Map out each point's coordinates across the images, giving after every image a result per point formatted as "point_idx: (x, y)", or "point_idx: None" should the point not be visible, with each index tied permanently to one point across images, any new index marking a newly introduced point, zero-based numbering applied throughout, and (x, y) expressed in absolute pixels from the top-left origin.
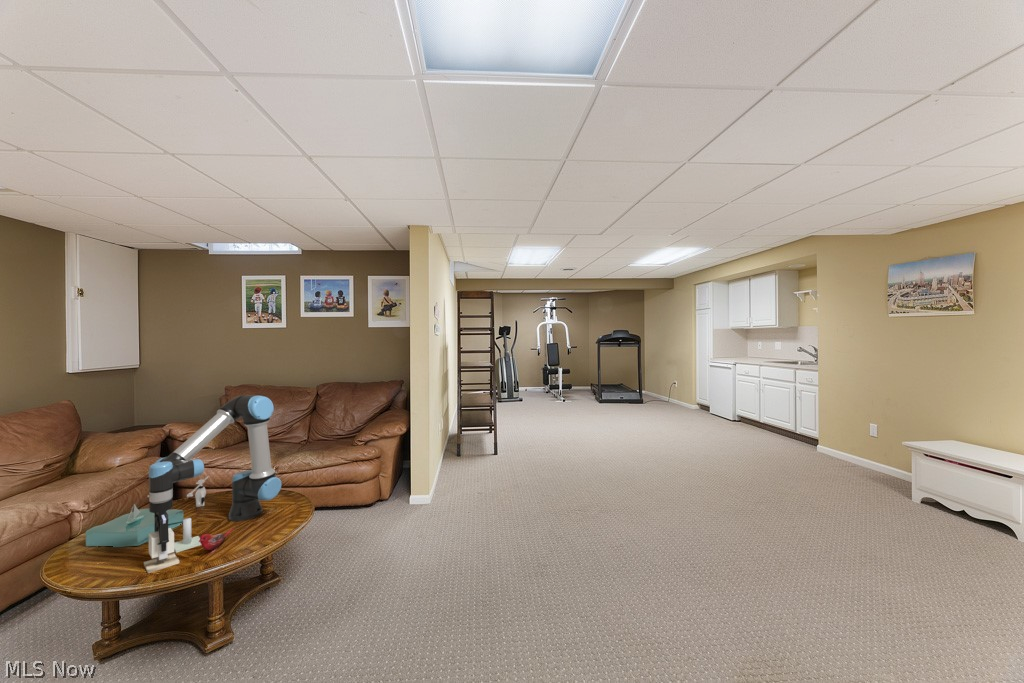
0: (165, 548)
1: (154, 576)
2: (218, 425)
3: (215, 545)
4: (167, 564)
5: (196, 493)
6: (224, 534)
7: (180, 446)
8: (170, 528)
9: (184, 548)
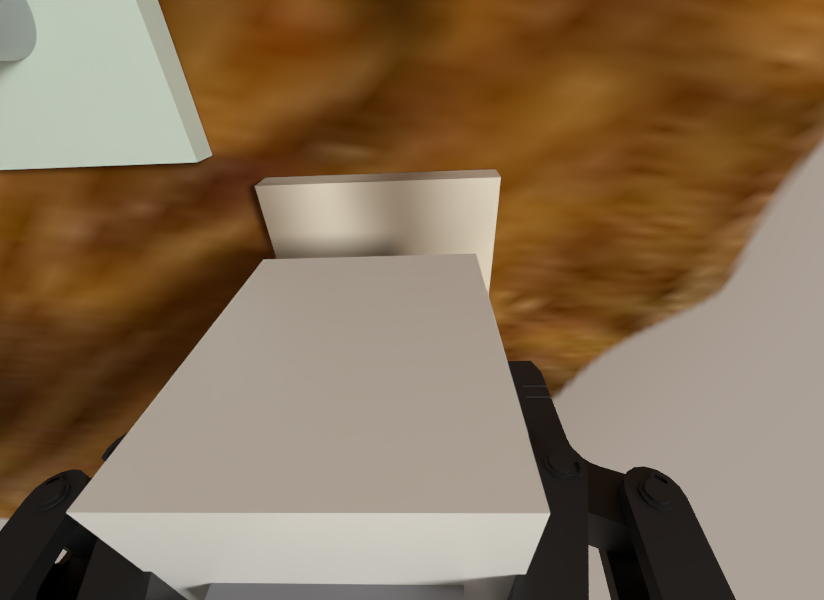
0: (542, 391)
1: (560, 324)
2: None
3: None
4: (491, 262)
5: None
6: None
7: None
8: (130, 518)
9: (167, 71)
